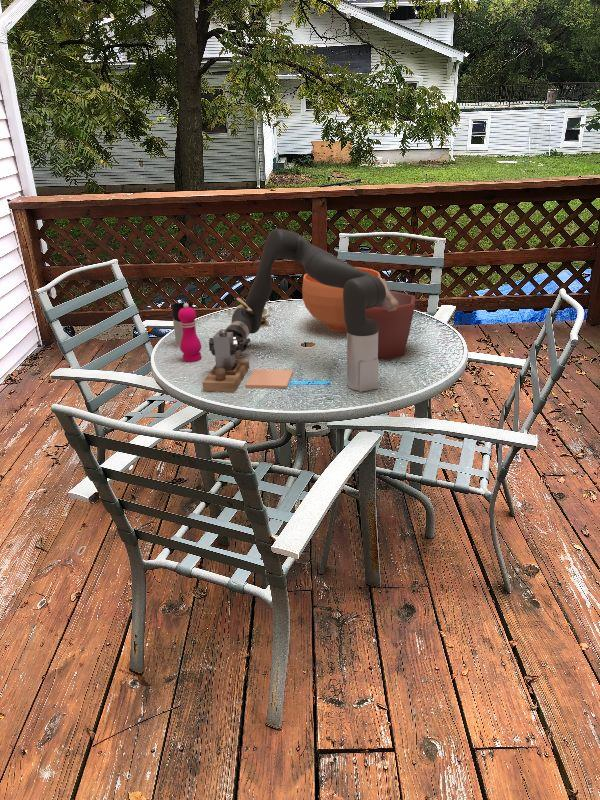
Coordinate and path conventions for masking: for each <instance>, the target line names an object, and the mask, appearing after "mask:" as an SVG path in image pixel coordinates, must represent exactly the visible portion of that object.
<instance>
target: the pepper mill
mask: <svg viewBox="0 0 600 800" xmlns="http://www.w3.org/2000/svg"><path fill="white" fill-rule="evenodd" d="M183 307H184V308H182V309H180V311H179V313H178V317H179V319H180V320H181V327H182V328H183V337H182V340H181V344H180V348H179V349H180V351H181V353H183V354H182V359H183V361H184V362H187V363H195V362H197V361H200V360H201V359H202V353H201V352H200V351H201V350H202V342H201V341H200V339H199V337H198V335H197V331H196V332H195V326H196V324H197V323H196V318H197V313H196V310H195V309H194V307H193V308H190V307H189V305H188V304H187V303H184V305H183ZM194 320H195V321H194ZM194 361H195V362H194Z"/></svg>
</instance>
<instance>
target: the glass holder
mask: <svg viewBox="0 0 600 800" xmlns="http://www.w3.org/2000/svg"><path fill="white" fill-rule="evenodd" d="M184 303H187V304H188V305H189V307H190V308H193V309H194V306H193V305H194V304H193V303H192V302H188V301H187V302H186V301H185V302H182V301H181V302H177V303H174V304H172V305H171V311H172V321H173V331H174V338H175V344H174V346H175V345H176V346H177V347H176V346H175V347H176V348H178V347H180V344H181V340H182V337H183V328H182V327H181V320H180V319H179V317H178V313H179V311H180V309H182V308H184V307H183V305H184ZM194 321H195V322H196V319H195V320H194ZM195 332H196V333H197V328H196V325H195Z"/></svg>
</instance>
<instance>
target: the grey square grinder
mask: <svg viewBox="0 0 600 800" xmlns="http://www.w3.org/2000/svg"><path fill="white" fill-rule="evenodd" d="M212 338H213V341H214V349H215V355H214V359H215V365H216V369H218V368H224V369H225V371H233V370H234V369H235V367H236V361H235V359H236V354H234V355H233V356H230V349H231V347H232V346H233V345H234V339H233V332H227V330H225V329H220V330H218V331H216V333H215V334H214V335H213V337H212Z"/></svg>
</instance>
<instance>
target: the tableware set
mask: <svg viewBox="0 0 600 800" xmlns="http://www.w3.org/2000/svg"><path fill="white" fill-rule="evenodd" d="M236 301H237V302H239V303H240V304H239V305H237V307H236V309H238V308H245V309H247V310H249V311H251V312H252V313H254V312H253V311H252V310H251V309H250V308H249V307H248V306H247V305H246V302H245V301H244V300H243V299H241V298H240V297H236ZM267 309H268V311H269V312H272V311H273V307H267ZM267 309H266V308H264V309H263V313H262V320H261V326H260V328H259V329H261V328H264V327H266V326H268V325H269V320H268V319H267V318H269V317H271V314H267V312H268V311H267ZM227 313H228V316H231V315H233V313H234V312H233V313H232V310H231V309H228V310H227Z"/></svg>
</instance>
